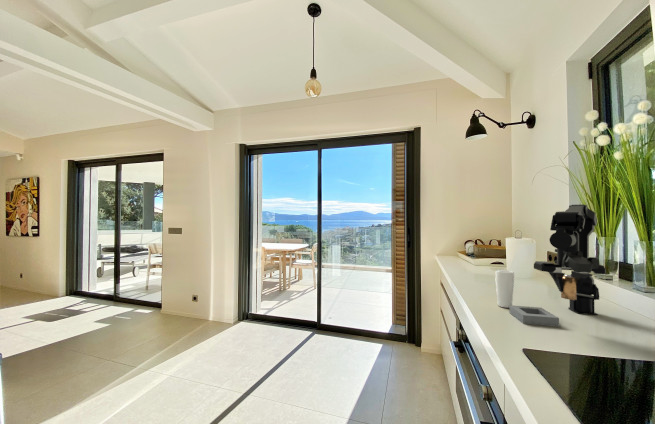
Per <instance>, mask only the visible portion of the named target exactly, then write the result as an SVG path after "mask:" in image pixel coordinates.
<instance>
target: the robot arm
mask: <svg viewBox="0 0 655 424" xmlns="http://www.w3.org/2000/svg"><path fill="white" fill-rule="evenodd" d="M597 223H598V219H597V215H596V212H595V211H593V210H592V209H589V208H588V205H587V204H584V203H583V204H570V205H569V206H568V208H567V209H566V210H563V211H556V212H555V213H554V214H553V215H552V219H551V223H550V229H549V230H550V231H555V232H554V233H552V234H551V235H550V237H549V243H550V245H551V246H552V247H554V248H555V249H554V253H556V258H557V259H556V260H554V263H553V262H549V261H539V260H538V261H537V260H536V261H535V262H534V263H533V269H534V270H538V271H540V272H546V273H548V274H549V275H550V276H551V278H552V280H553V281H554V283H555V285H556V287H557V289H558V291H559V292H560V293H561V292H563V276H565V275H566V273H565V272H562V271H563V270H564V271H570V272H571V274H570V275H572V277H574V278H576V297H577V299H576V300H569V307H568V310H570V311H573V312H574V313H577V314H579V315H592V316H593V315H594V316H598V313H596V311H595V301H597V300H598V301H599V300H600V290H599V287H598V286H597V284H596V283H595V279H594V277H593V274H596V275H606V273H607V271H606V270H607V269H606V267H605V266H604V265H602V264H600V260H599V258H597V257H593V256H590V236H591V235H592V233H594V231H595V227H596V226H597ZM592 273H593V274H592Z"/></svg>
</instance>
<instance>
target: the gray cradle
mask: <svg viewBox="0 0 655 424" xmlns="http://www.w3.org/2000/svg"><path fill="white" fill-rule="evenodd" d="M509 314H511V316H513V317H514V318H515V319H516V320H518V321H519V322H520V323H522V324H524V325H525V324H527V325H535V326H547V327H548V326H549V327H558V328H559V327H560V318H559V316H556V315H555V314H554V313H551V312H550V311H548V310H546V309H544V308H542V307H537V306H536V307H535V306H522V305H513V304H512V305H510V308H509Z"/></svg>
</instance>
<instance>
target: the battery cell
mask: <svg viewBox="0 0 655 424" xmlns="http://www.w3.org/2000/svg"><path fill="white" fill-rule="evenodd" d="M560 297H561V298H562V299H565V300H569V301H570V300H576V299H577V297H576V278H574V277H572V275H571V274H565V275H564V276H563V292H560Z"/></svg>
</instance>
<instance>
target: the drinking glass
mask: <svg viewBox="0 0 655 424" xmlns="http://www.w3.org/2000/svg"><path fill="white" fill-rule="evenodd" d="M494 279H495V290H496V302H497V305H498V307H500V308H505V309H510V305H512V306H513V301H514V299H513V297H514V287H515V272H514V271H512V270H508V269H496V270H495V272H494Z"/></svg>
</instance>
